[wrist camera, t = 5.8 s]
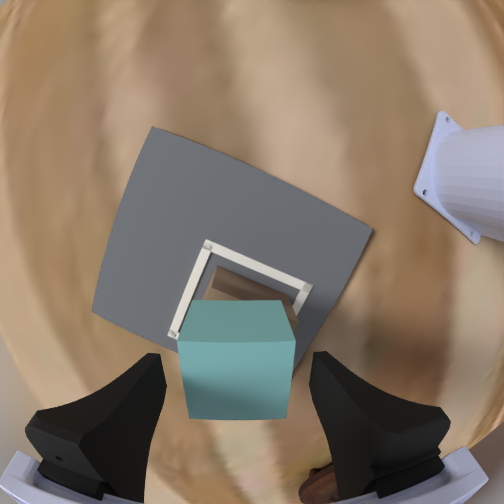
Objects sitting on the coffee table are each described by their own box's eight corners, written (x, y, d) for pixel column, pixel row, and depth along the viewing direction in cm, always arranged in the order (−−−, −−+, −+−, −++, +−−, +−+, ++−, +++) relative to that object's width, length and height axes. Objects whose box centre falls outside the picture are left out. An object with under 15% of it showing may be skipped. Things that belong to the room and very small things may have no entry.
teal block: (280, 300, 14) (295, 340, 10) (276, 369, 15) (286, 418, 11) (192, 300, 14) (176, 341, 10) (198, 369, 15) (189, 418, 11)
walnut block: (287, 294, 18) (299, 322, 14) (255, 352, 19) (258, 387, 15) (217, 265, 17) (211, 287, 13) (190, 327, 18) (179, 360, 14)
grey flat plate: (369, 227, 18) (374, 229, 17) (280, 383, 21) (281, 388, 20) (154, 128, 16) (151, 125, 15) (94, 308, 18) (90, 312, 18)
